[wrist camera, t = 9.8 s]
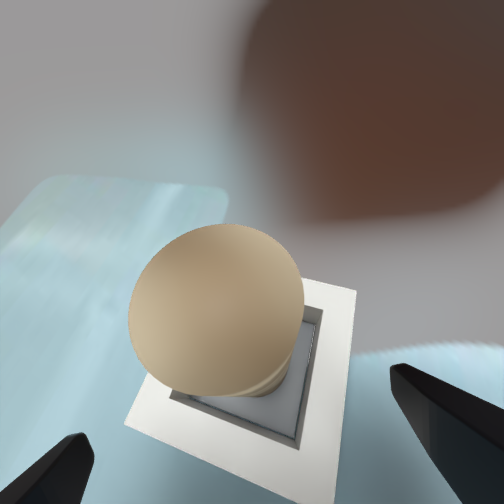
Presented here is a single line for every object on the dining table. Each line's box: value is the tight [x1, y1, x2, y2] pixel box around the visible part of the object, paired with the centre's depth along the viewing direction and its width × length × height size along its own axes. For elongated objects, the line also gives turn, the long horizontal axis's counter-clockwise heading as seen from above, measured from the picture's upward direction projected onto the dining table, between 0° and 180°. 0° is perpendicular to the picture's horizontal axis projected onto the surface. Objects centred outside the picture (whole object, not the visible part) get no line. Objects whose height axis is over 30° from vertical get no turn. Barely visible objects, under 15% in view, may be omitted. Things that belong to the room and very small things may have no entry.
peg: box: [128, 224, 304, 397], centre depth 13 cm, size 5×5×14 cm
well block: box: [124, 278, 357, 504], centre depth 17 cm, size 12×12×4 cm
